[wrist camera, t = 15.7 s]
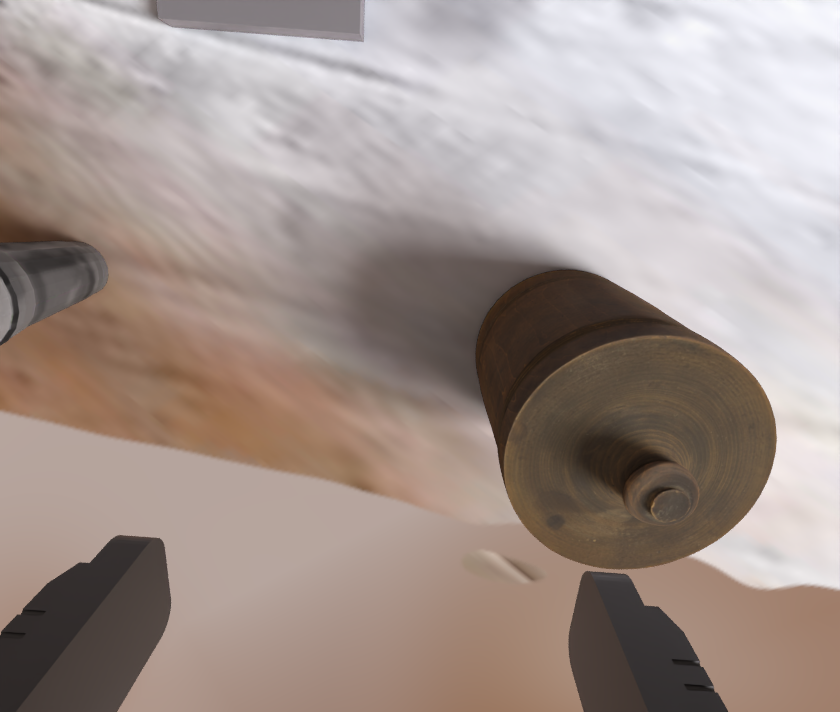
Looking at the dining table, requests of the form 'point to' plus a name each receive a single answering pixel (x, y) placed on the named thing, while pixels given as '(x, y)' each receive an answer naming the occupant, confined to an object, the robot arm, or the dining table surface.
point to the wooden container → (618, 423)
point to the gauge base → (269, 17)
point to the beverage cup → (45, 280)
